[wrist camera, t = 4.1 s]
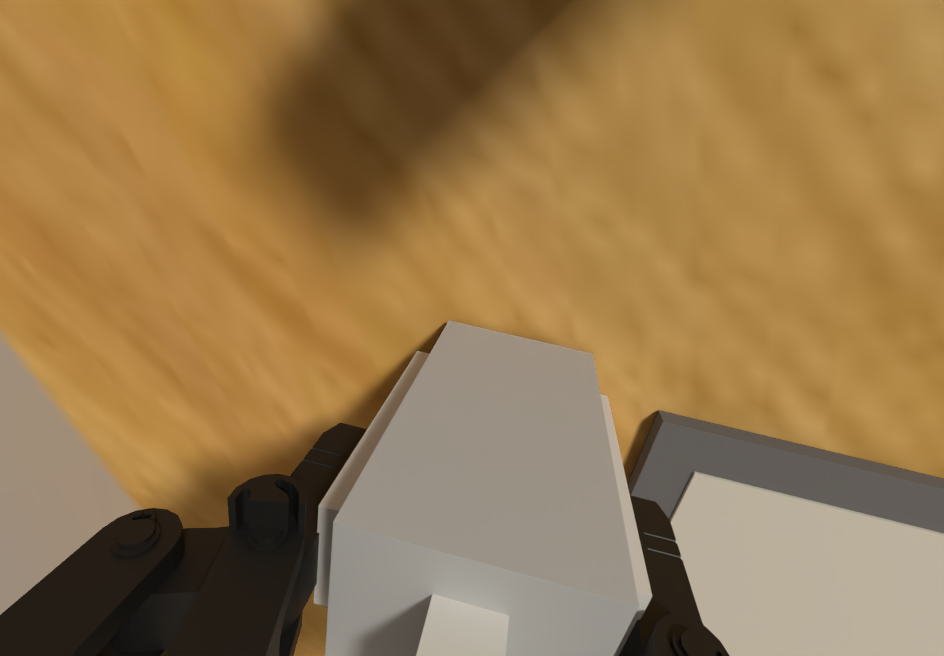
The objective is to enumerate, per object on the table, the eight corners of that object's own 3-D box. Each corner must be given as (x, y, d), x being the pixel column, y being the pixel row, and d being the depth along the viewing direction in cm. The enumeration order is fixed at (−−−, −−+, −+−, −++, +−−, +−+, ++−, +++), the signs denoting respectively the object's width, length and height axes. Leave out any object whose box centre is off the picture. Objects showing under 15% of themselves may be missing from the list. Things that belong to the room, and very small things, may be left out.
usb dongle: (448, 320, 14) (260, 649, 5) (592, 353, 13) (670, 773, 5) (429, 435, 16) (267, 825, 7) (555, 467, 15) (558, 923, 6)
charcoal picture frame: (658, 410, 14) (663, 422, 13) (1137, 525, 13) (1167, 544, 12) (548, 669, 20) (548, 687, 19) (876, 764, 19) (887, 786, 18)
